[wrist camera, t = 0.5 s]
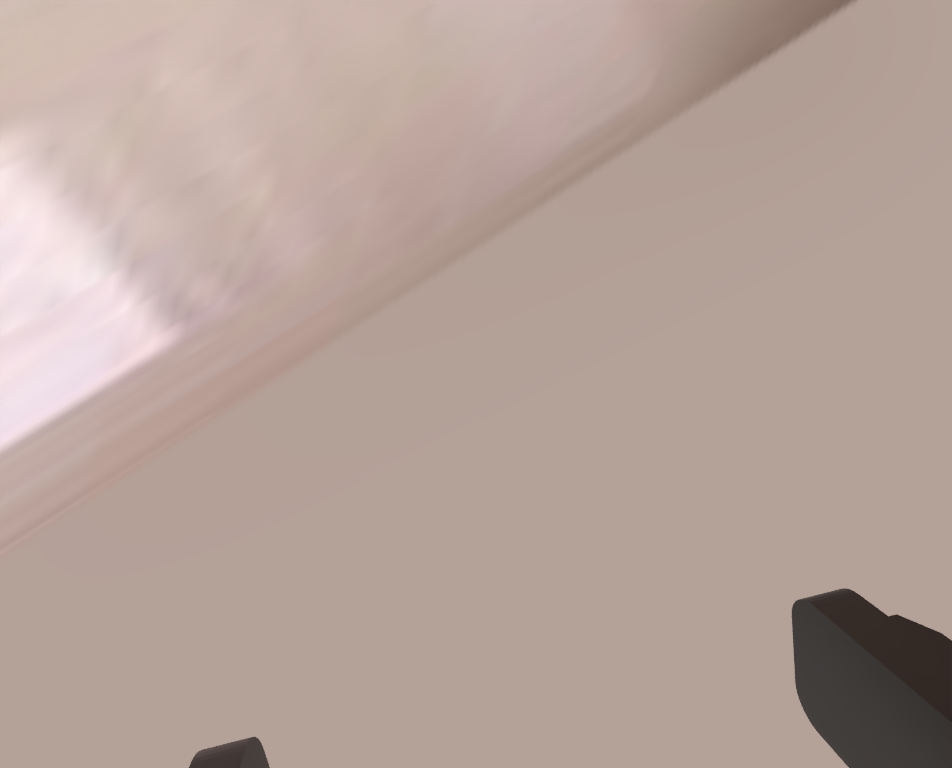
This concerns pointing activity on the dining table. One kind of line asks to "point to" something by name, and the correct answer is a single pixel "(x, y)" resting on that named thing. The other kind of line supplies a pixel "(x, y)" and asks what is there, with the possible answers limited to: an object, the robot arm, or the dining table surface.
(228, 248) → the dining table surface
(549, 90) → the dining table surface
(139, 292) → the dining table surface
